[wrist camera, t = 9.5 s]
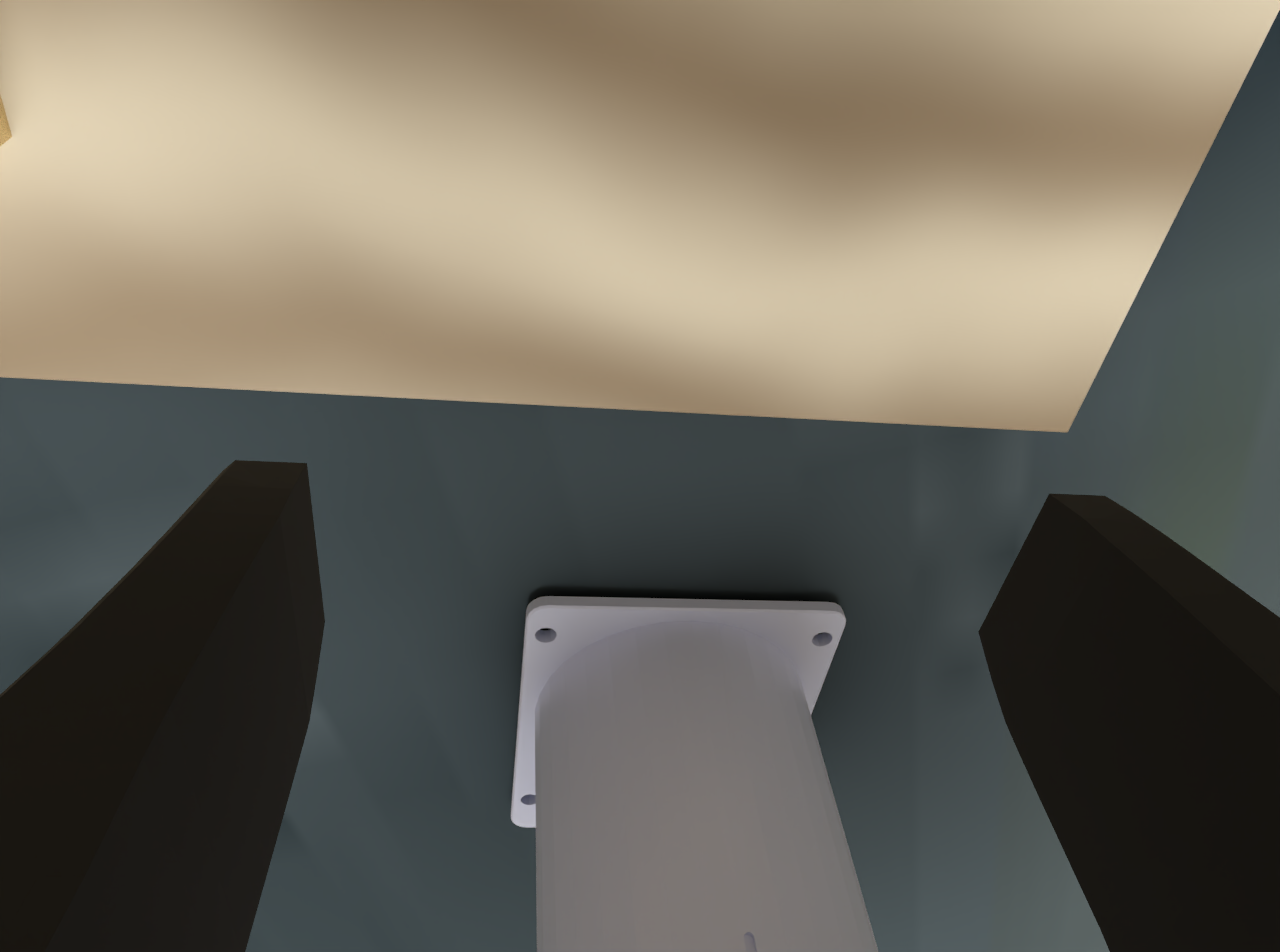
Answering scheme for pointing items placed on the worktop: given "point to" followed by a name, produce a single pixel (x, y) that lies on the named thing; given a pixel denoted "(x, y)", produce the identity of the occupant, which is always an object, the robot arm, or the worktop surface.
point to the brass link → (4, 125)
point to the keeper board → (604, 197)
